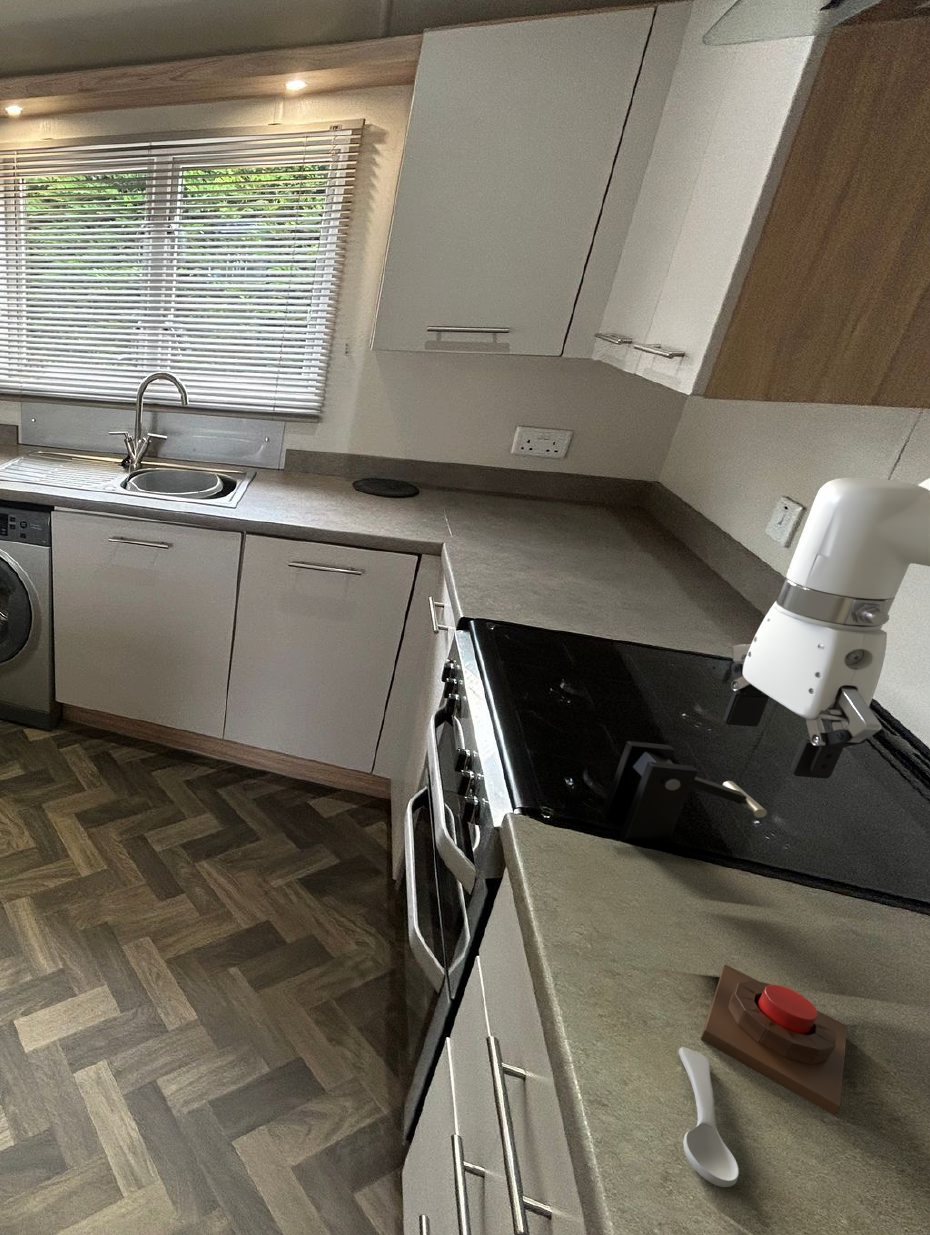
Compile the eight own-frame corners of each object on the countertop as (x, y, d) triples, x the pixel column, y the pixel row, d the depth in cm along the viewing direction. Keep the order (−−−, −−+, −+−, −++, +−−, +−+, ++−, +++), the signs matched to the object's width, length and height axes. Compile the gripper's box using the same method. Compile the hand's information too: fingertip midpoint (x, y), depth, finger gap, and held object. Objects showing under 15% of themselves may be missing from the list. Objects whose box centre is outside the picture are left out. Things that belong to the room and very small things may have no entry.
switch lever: (726, 794, 81) (740, 778, 80) (758, 823, 77) (773, 807, 76) (625, 759, 82) (637, 743, 81) (650, 786, 77) (664, 769, 76)
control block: (719, 972, 66) (731, 949, 65) (841, 1035, 60) (856, 1010, 59) (700, 1039, 60) (712, 1015, 59) (833, 1116, 54) (850, 1090, 53)
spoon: (682, 1176, 50) (691, 1157, 50) (665, 1052, 59) (673, 1035, 59) (737, 1206, 49) (748, 1186, 48) (711, 1073, 58) (720, 1056, 57)
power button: (759, 991, 61) (767, 977, 61) (811, 1018, 59) (819, 1003, 58) (754, 1014, 59) (762, 999, 59) (807, 1042, 57) (816, 1027, 56)
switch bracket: (657, 819, 86) (690, 738, 82) (707, 873, 78) (746, 786, 73) (559, 808, 88) (586, 728, 83) (598, 859, 79) (630, 774, 75)
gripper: (964, 642, 61) (886, 803, 67) (804, 575, 77) (752, 710, 83) (864, 637, 63) (796, 795, 68) (727, 572, 78) (681, 705, 84)
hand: (772, 748), depth 76 cm, fingers open, 9 cm apart
